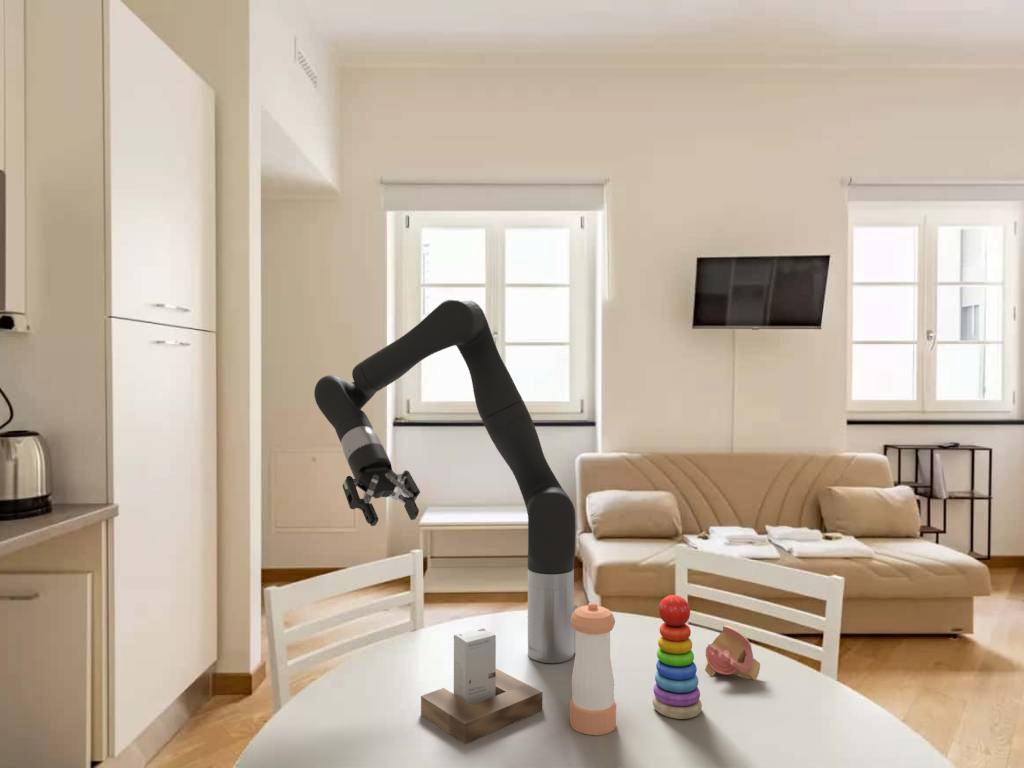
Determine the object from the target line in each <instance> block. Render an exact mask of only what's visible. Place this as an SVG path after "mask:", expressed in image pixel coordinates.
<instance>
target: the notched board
mask: <svg viewBox="0 0 1024 768" xmlns="http://www.w3.org/2000/svg"><path fill="white" fill-rule="evenodd" d="M541 711H543V691H541V690H540V689H538V688H536V687H533V686H531V685H530V684H527V683H526V682H524V681H522V680H519V679H517V678H515V677H513V676H512V675H509V674H508V673H506V672H504V671H502V670H501V669H498V668H496V696H494V697H492V698H489V699H487V700H484V701H481V702H479V703H476V704H474V705H472V704H470V703H468V702H467V701H465V700H463V699H462V698H460V697H458V696H456V695H455V694H454V692H451V691H449V690H448V689H446V688H445V687H442V688H439V689H437V690H435V691H431V692H428V693H425V694H422V695H421V696H420V715H421V716H423V717H424V718H425V719H426V720H429V721H430V722H431V723H433V724H435V726H438V727H439V728H440V727H441V728H440V729H442V730H444V731H445V732H446V731H447V732H446V733H448V734H449V733H450V735H451V736H452V737H454V738H456V739H457V740H458V741H460V742H461V741H462V742H461V743H463V744H465V745H466V744H468V743H470V742H471V743H472V742H473V741H475V740H478V739H480V738H482V737H485V736H487V735H489V734H491V733H494V732H496V731H497V730H500V729H502V728H504V727H507V726H509V725H512V724H514V723H517V722H518V721H521V720H523V719H525V718H527V717H531V716H532V715H534V714H537V713H539V712H541Z"/></svg>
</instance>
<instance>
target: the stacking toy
mask: <svg viewBox="0 0 1024 768" xmlns="http://www.w3.org/2000/svg"><path fill="white" fill-rule="evenodd" d="M658 612H659V616H660V619H661V620H662V621H663V622H664V623H661V625H660V626H659V634H660V637H659V638H658V641H657V645H658V647H659V648H658V650H657V651H656V656H657V659H658V660H657V662H656V663H655V664H656V665H655V667H656V670H657V671H656V673H655V674H654V680H655V683H654V686H653V694H654V696H653V698H652V705H653V708H654V709H655V710H656V711H657V712H658V713H659V714H661V715H663V716H665V717H668V718H671V719H678V720H685V719H687V720H688V719H691V718H694V717H696V716H698V715H700V713H701V711H702V709H703V708H702V707H703V705H702V700H700V699H701V698H700V697H701V692H700V689H699V687H698V686H699V677H698V675H697V674H696V673H697V670H698V669H697V665H696V663H695V661H694V660H695V653H694V652H693V650H692V648H693V642H692V640H691V638H690V636H691V633H692V631H691V628H690V626H689V625H688V624H687V622H688V620H689V619H690V616H691V608H690V605H689V603H688V601H687V600H686V599H685V598H684V597H682V596H680V595H677V594H670V595H667V596H665V597H664V598H662V599H661V601H660V602H659V607H658Z"/></svg>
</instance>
